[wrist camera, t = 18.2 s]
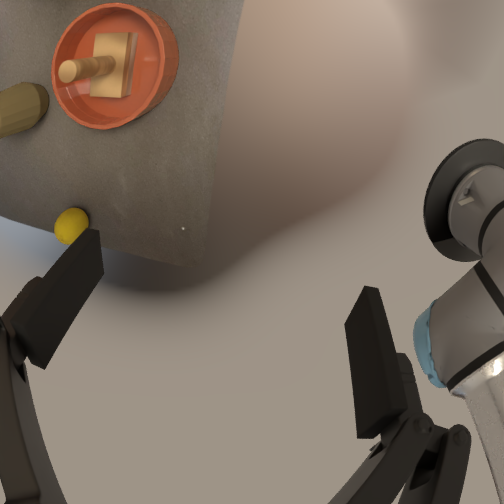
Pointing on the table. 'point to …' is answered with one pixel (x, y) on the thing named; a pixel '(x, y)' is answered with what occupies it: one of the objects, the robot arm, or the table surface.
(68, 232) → the lemon
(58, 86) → the terracotta bowl
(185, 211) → the table surface
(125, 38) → the wooden peg stand
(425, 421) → the robot arm
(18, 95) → the squeeze bottle
